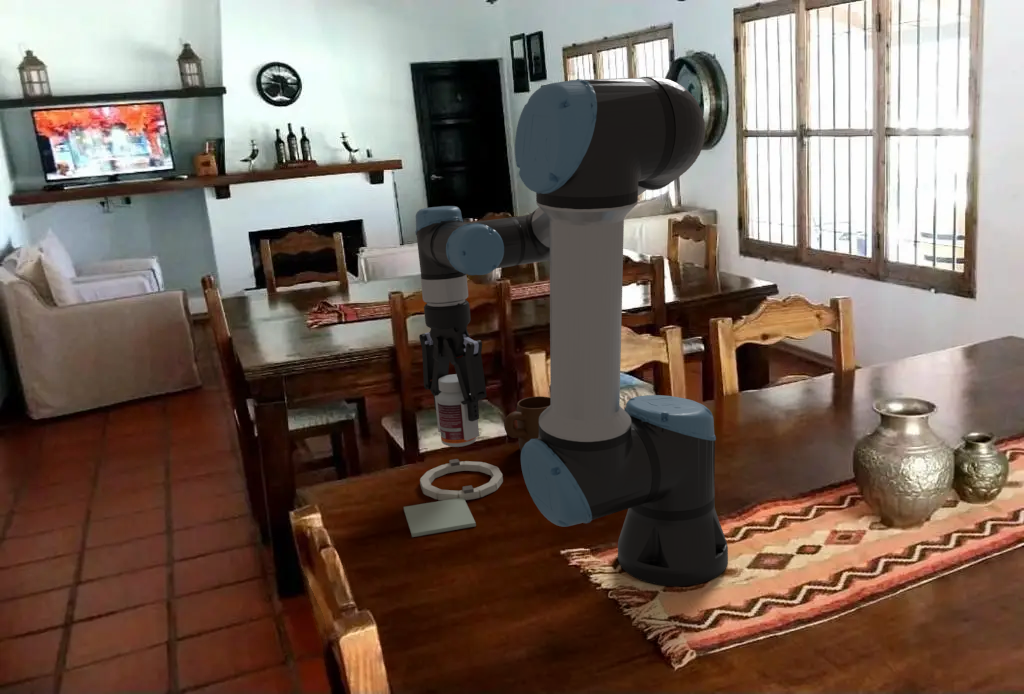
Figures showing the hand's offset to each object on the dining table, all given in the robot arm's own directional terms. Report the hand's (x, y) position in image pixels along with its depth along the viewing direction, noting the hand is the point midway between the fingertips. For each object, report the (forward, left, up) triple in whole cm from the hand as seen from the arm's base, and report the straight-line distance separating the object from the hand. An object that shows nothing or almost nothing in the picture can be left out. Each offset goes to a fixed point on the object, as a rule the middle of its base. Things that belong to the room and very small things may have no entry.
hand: (458, 433), depth 148 cm
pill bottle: (0, 0, -2) cm, 2 cm away
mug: (+9, -15, -10) cm, 20 cm away
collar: (0, 0, -9) cm, 9 cm away
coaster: (-12, +6, -9) cm, 16 cm away
